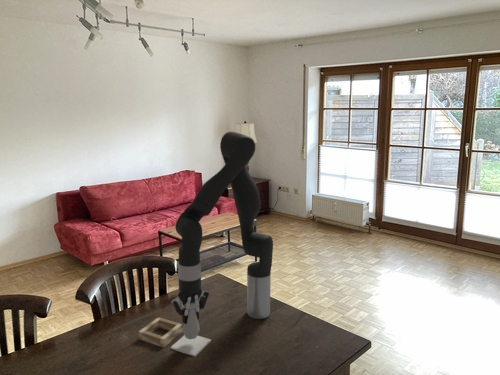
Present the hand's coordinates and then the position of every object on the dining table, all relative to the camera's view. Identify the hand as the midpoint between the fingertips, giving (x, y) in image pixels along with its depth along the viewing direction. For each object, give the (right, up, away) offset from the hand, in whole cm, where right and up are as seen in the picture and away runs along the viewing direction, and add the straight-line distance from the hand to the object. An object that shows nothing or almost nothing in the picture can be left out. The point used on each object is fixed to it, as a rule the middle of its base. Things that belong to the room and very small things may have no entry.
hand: (190, 322), depth 136 cm
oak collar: (-12, -7, +7) cm, 16 cm away
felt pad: (0, -8, +2) cm, 9 cm away
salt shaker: (0, -5, +1) cm, 5 cm away
